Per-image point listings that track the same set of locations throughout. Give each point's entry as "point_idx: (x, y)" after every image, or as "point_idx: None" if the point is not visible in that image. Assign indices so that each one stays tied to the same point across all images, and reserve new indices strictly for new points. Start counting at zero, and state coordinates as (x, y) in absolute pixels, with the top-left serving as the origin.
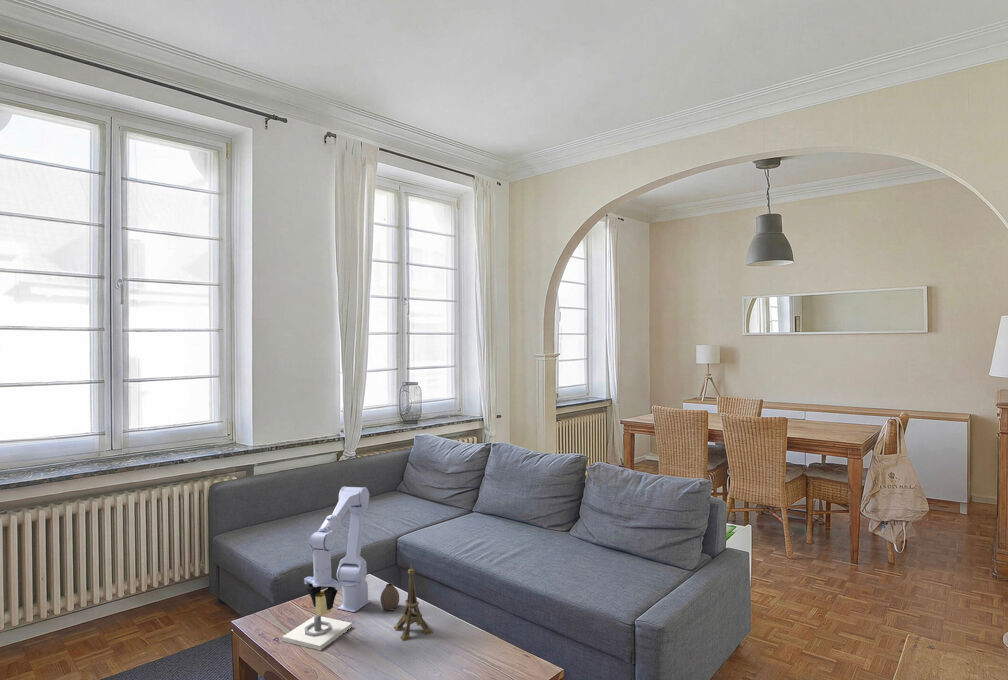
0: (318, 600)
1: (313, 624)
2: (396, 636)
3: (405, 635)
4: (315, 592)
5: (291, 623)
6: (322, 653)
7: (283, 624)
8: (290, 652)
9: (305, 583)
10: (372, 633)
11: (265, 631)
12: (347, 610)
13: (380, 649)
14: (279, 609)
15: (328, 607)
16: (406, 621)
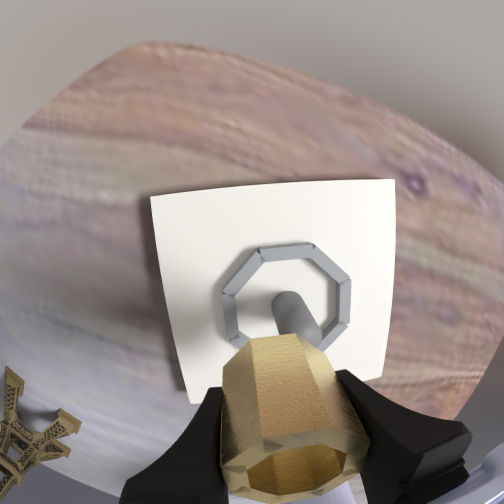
0: (287, 408)
1: (335, 322)
2: (34, 384)
3: (6, 382)
4: (377, 453)
5: (437, 300)
6: (129, 183)
7: (456, 280)
8: (274, 118)
9: (499, 451)
10: (95, 382)
11: (475, 213)
12: None
13: (4, 308)
14: (497, 332)
15: (204, 397)
16: (15, 422)
